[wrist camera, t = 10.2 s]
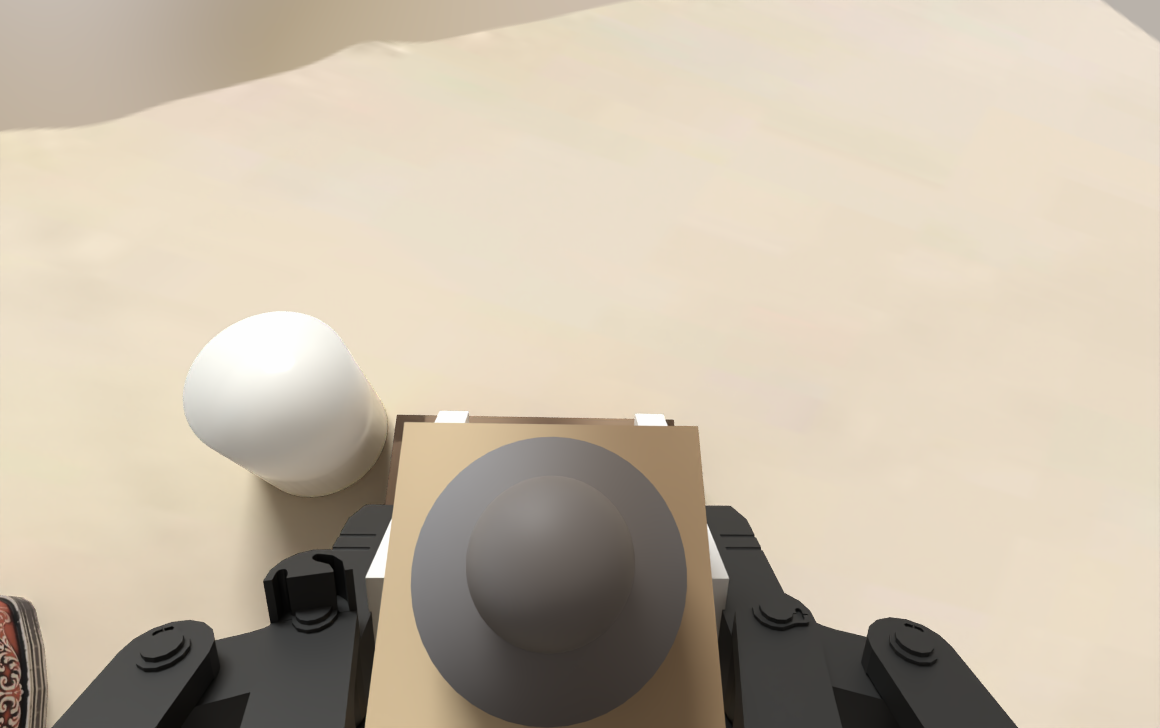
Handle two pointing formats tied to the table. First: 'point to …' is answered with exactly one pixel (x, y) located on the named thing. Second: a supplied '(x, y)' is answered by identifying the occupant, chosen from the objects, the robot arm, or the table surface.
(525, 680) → the pepper mill
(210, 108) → the table surface
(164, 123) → the table surface
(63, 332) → the table surface
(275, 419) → the white pillar candle
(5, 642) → the lighter
